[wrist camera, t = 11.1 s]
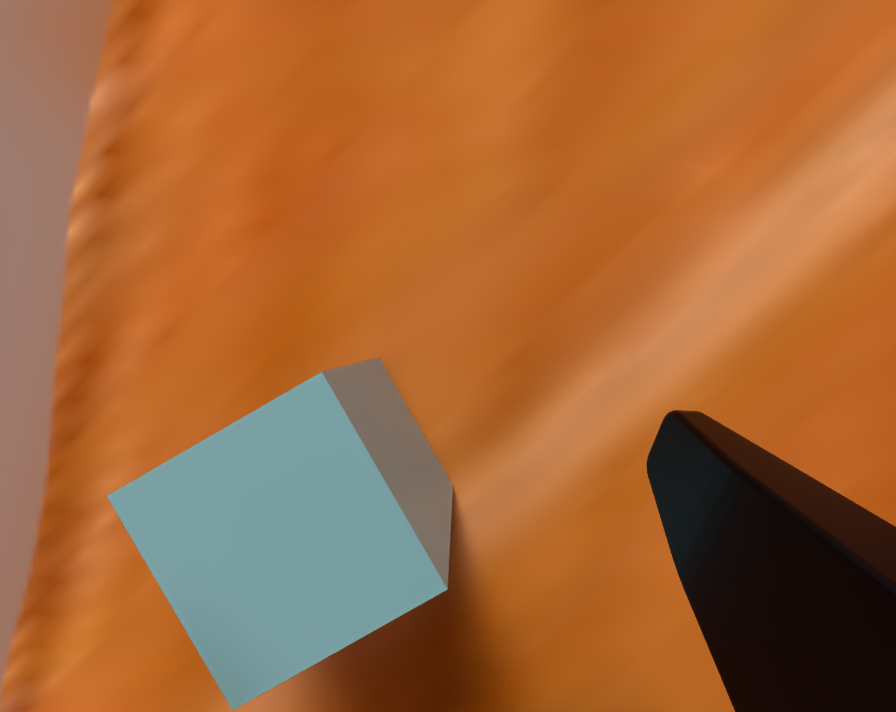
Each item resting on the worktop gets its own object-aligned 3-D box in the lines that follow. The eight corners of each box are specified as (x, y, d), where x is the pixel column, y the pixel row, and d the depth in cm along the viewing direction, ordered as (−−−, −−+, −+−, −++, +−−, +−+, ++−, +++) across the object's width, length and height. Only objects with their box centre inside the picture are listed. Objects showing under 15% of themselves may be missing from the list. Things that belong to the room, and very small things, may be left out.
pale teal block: (453, 485, 22) (447, 589, 13) (325, 557, 22) (232, 710, 13) (379, 357, 22) (321, 372, 13) (252, 430, 22) (106, 496, 13)
